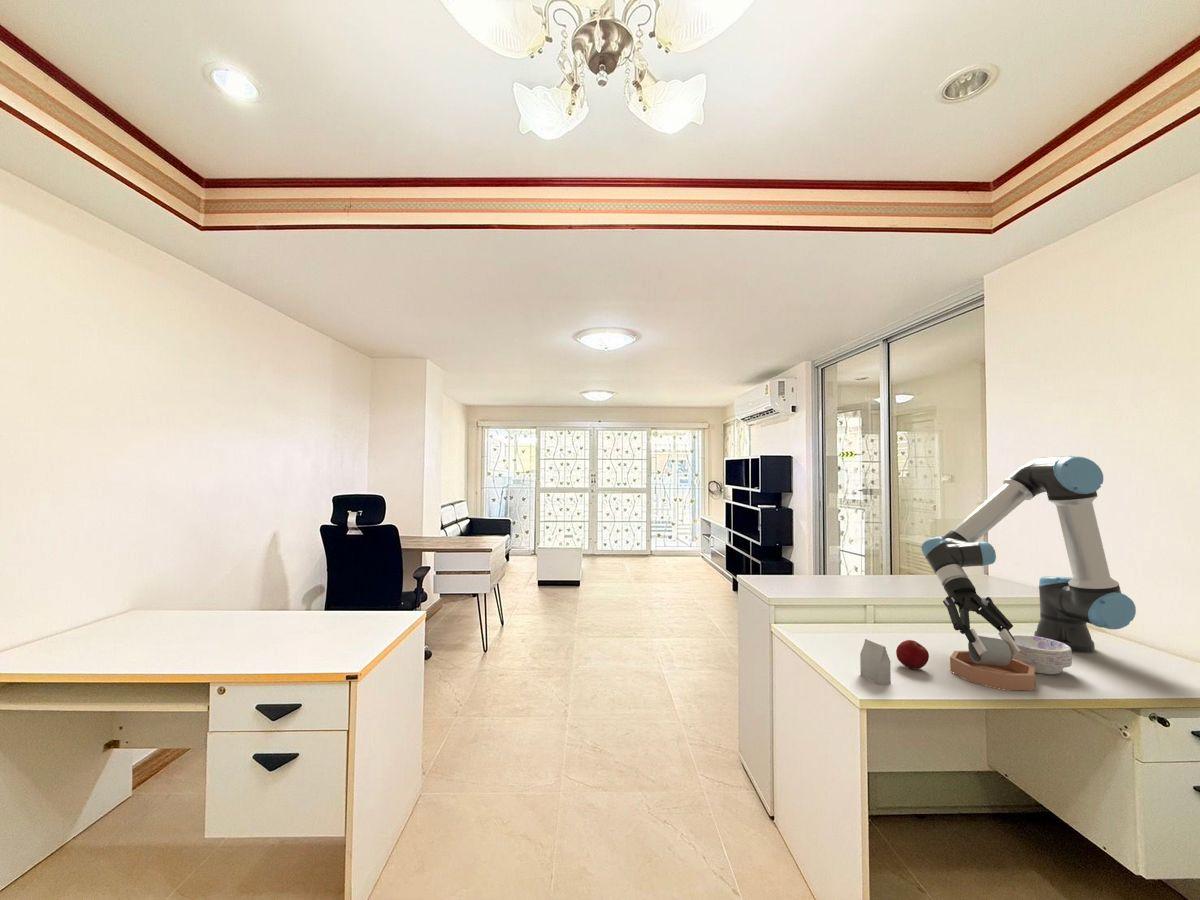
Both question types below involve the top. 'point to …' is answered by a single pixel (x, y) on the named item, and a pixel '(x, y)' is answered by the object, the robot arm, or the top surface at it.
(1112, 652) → the top surface
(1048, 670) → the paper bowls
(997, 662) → the ceramic mug
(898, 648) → the apple
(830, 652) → the top surface
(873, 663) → the tea bag
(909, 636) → the top surface
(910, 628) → the top surface
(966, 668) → the terracotta bowl
